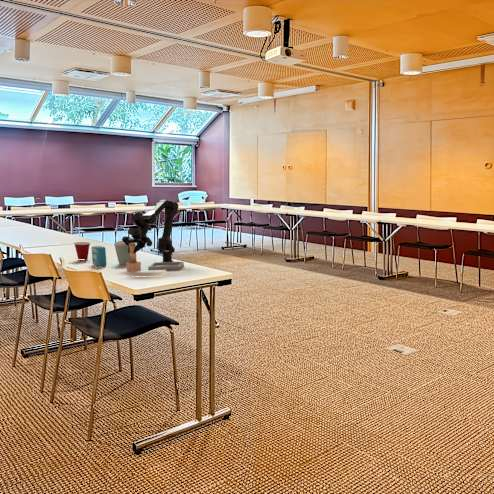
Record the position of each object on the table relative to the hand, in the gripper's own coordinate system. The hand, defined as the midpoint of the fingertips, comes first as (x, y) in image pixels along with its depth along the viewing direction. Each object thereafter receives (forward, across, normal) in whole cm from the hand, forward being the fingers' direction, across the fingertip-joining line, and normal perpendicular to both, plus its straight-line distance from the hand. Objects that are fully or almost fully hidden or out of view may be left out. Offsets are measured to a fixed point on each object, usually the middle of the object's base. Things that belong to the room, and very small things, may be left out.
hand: (131, 252), depth 314 cm
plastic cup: (-10, -63, +26) cm, 69 cm away
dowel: (+3, 0, +5) cm, 6 cm away
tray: (-2, +14, +18) cm, 23 cm away
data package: (0, -36, +16) cm, 39 cm away
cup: (+7, 0, +9) cm, 11 cm away
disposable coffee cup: (-4, -21, +20) cm, 29 cm away
